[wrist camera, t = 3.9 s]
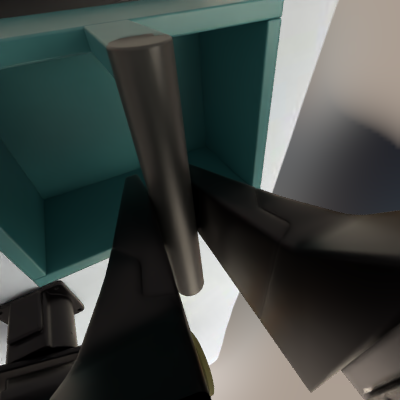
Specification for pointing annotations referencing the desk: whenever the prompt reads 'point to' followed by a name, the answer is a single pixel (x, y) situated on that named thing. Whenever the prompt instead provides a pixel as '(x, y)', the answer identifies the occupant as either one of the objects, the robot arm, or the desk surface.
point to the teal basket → (127, 122)
